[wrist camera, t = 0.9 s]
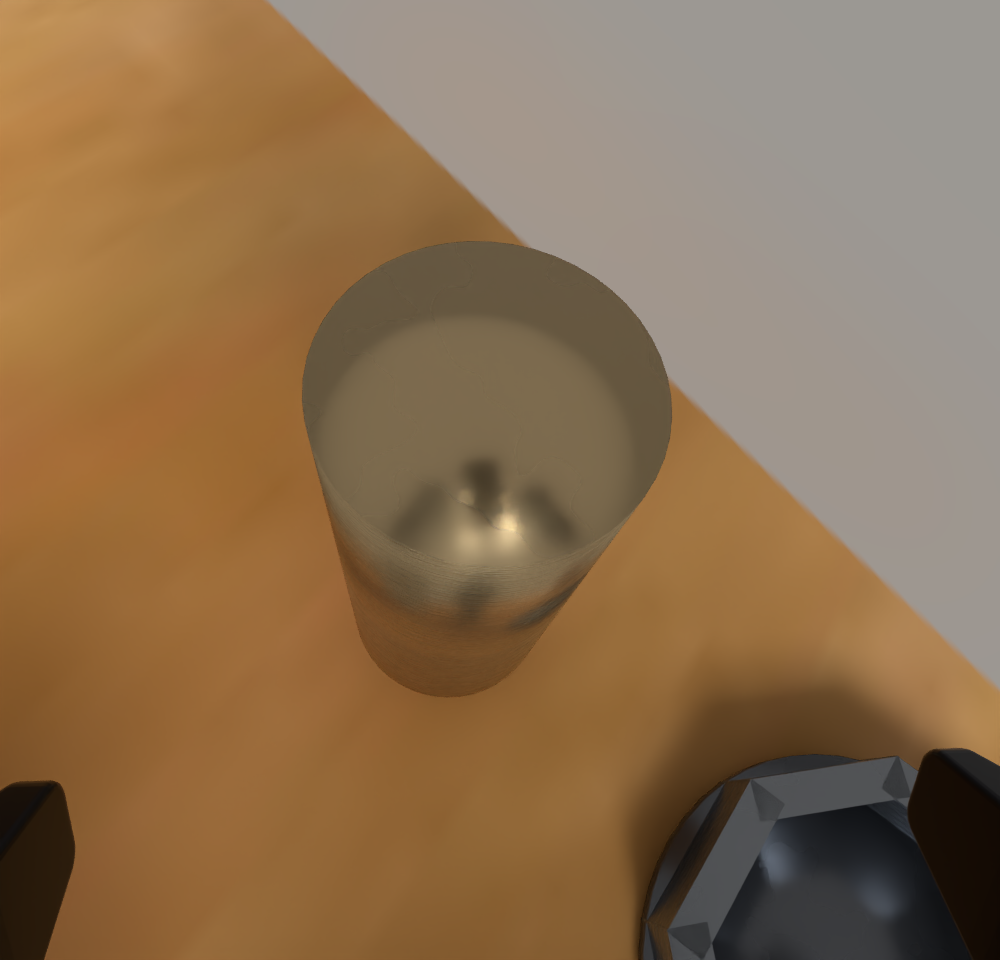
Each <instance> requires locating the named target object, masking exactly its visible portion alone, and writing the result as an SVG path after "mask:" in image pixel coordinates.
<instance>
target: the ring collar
mask: <svg viewBox="0 0 1000 960" xmlns="http://www.w3.org/2000/svg"><path fill="white" fill-rule="evenodd" d="M917 774H918V771H917V770H915V769H914V768H913V767H911V766H910V765H909V764H907V763H906V762H905V761H903V760H902V759H900V758H899V756H890V757H882V758H874V759H866V760H855V759H851V758H846V757H841V756H832V755H818V754H812V755H799V756H789V757H782V758H778V759H774V760H769V761H765V762H761V763H758V764H756V765H753V766H751V767H748V768H746V769H743V770H741V771H739V772H737V773H735V774H734V775H732V776H730V777H729V778H727V779H725V780H724V781H722V782H719V783H718V784H717V785H716V786H715V787H714V788H713V789H711V790H710V791H709V792H708V793H707V794H705V795H704V796H703V797H702V798H700V800H699V801H698V802H697V803H696V804H695V805H694V806H693V807H692V808H691V810H690V811H689V812H688V813H687V814H686V815H685V816H684V817H683V819H682V820H681V822H680V823H679V825H678V826H677V828H676V829H675V831H674V832H673V834H672V835H671V837H670V838H669V840H668V842H667V844H666V846H665V848H664V850H663V852H662V854H661V856H660V858H659V860H658V862H657V865H656V868H655V871H654V874H653V877H652V879H651V882H650V885H649V888H648V892H647V896H646V901H645V906H644V910H643V915H642V918H641V931H640V941H639V960H972V958H971V956H970V954H969V952H968V950H967V948H966V946H965V944H964V941H963V939H962V937H961V935H960V933H959V931H958V929H957V927H956V924H955V922H954V920H953V918H952V916H951V914H950V912H949V910H948V908H947V905H946V903H945V901H944V899H943V897H942V895H941V893H940V891H939V888H938V886H937V884H936V882H935V880H934V878H933V876H932V874H931V871H930V869H929V867H928V865H927V863H926V861H925V859H924V857H923V855H922V852H921V850H920V848H919V846H918V844H917V842H916V840H915V838H914V835H913V833H912V831H911V828H910V825H909V822H908V816H907V806H908V801H909V798H910V795H911V792H912V789H913V786H914V783H915V780H916V777H917Z"/></svg>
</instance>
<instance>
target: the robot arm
mask: <svg viewBox="0 0 1000 960" xmlns="http://www.w3.org/2000/svg"><path fill="white" fill-rule="evenodd" d="M907 816H908V822H909V825H910V828H911V831H912V833H913V835H914V838H915V840H916V842H917V844H918V846H919V848H920V850H921V852H922V855H923V857H924V859H925V861H926V863H927V865H928V867H929V869H930V871H931V874H932V876H933V878H934V880H935V882H936V884H937V886H938V888H939V891H940V893H941V895H942V897H943V899H944V901H945V903H946V905H947V908H948V910H949V912H950V914H951V916H952V918H953V920H954V922H955V924H956V927H957V929H958V931H959V933H960V935H961V937H962V939H963V941H964V944H965V946H966V948H967V950H968V952H969V954H970V956H971V958H972V960H1000V766H999V765H997V764H995V763H993V762H991V761H989V760H988V759H986V758H984V757H982V756H980V755H979V754H977V753H975V752H973V751H971V750H968V749H963V748H951V749H933V750H930V751H929V752H928V753H927V754H926V755H925V756H924V757H923V759H922V762H921V765H920V768H919V771H918V774H917V777H916V780H915V783H914V786H913V789H912V792H911V795H910V798H909V801H908V806H907ZM74 858H75V841H74V836H73V831H72V826H71V821H70V817H69V812H68V807H67V802H66V797H65V793H64V790H63V788H62V786H61V785H60V784H59V783H58V782H55V781H51V780H50V781H23V782H16V783H12V784H10V785H8V786H6V787H5V788H3V789H2V790H1V791H0V960H44V958H45V955H46V952H47V949H48V945H49V942H50V939H51V936H52V933H53V929H54V926H55V923H56V920H57V917H58V914H59V910H60V907H61V904H62V901H63V898H64V894H65V891H66V888H67V885H68V882H69V879H70V875H71V872H72V869H73V864H74Z"/></svg>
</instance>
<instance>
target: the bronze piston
mask: <svg viewBox="0 0 1000 960" xmlns="http://www.w3.org/2000/svg"><path fill="white" fill-rule="evenodd" d="M302 404H303V412H304V420H305V425H306V429H307V433H308V437H309V441H310V445H311V448H312V452H313V456H314V460H315V464H316V468H317V472H318V476H319V479H320V483H321V487H322V491H323V495H324V499H325V503H326V507H327V510H328V514H329V518H330V522H331V526H332V530H333V534H334V538H335V541H336V545H337V549H338V553H339V557H340V561H341V565H342V569H343V572H344V576H345V580H346V584H347V588H348V592H349V596H350V600H351V603H352V607H353V611H354V615H355V619H356V623H357V626H358V630H359V634H360V637H361V639H362V641H363V644H364V646H365V648H366V650H367V651H368V653H369V655H370V656H371V658H372V659H373V660H374V662H375V663H376V664H377V665H378V666H379V668H380V669H381V670H382V671H384V672H385V673H386V674H387V675H388V676H389V677H390V678H392V679H393V680H395V681H396V682H398V683H399V684H401V685H403V686H405V687H407V688H409V689H411V690H413V691H416V692H419V693H422V694H426V695H431V696H437V697H460V696H465V695H470V694H474V693H477V692H480V691H483V690H485V689H487V688H489V687H491V686H493V685H495V684H497V683H498V682H500V681H501V680H503V679H504V678H506V677H507V676H508V675H509V674H510V673H511V672H513V671H514V670H515V669H516V668H517V666H518V665H519V664H520V663H521V662H522V660H523V659H524V658H525V657H526V655H527V654H528V653H529V651H530V650H531V649H532V647H533V646H534V644H535V643H536V642H537V640H538V639H539V638H540V636H541V635H542V634H543V632H544V631H545V630H546V628H547V627H548V626H549V624H550V623H551V622H552V620H553V619H554V618H555V616H556V615H557V614H558V612H559V611H560V610H561V608H562V607H563V606H564V604H565V603H566V602H567V600H568V599H569V598H570V596H571V595H572V593H573V592H574V591H575V589H576V588H577V587H578V585H579V584H580V583H581V581H582V580H583V579H584V577H585V576H586V575H587V573H588V572H589V571H590V569H591V568H592V567H593V565H594V564H595V563H596V561H597V560H598V559H599V557H600V556H601V555H602V553H603V552H604V551H605V549H606V548H607V547H608V545H609V544H610V543H611V541H612V540H613V538H614V537H615V536H616V534H617V533H618V532H619V530H620V529H621V528H622V526H623V525H624V524H625V522H626V521H627V520H628V518H629V517H630V516H631V514H632V513H633V512H634V510H635V509H636V508H637V506H638V505H639V504H640V502H641V501H642V500H643V498H644V497H645V495H646V494H647V492H648V490H649V489H650V487H651V486H652V484H653V482H654V481H655V479H656V477H657V475H658V473H659V470H660V468H661V466H662V463H663V461H664V459H665V455H666V451H667V447H668V443H669V439H670V432H671V422H672V406H671V393H670V388H669V383H668V377H667V374H666V371H665V368H664V365H663V362H662V359H661V356H660V354H659V352H658V350H657V348H656V346H655V344H654V342H653V340H652V338H651V336H650V335H649V333H648V332H647V330H646V329H645V327H644V326H643V324H642V322H641V321H640V320H639V318H638V317H637V316H636V315H635V314H634V313H633V311H632V310H631V309H630V308H629V307H628V306H627V304H626V303H625V302H623V300H621V299H620V298H619V297H618V296H617V295H616V294H615V293H614V292H613V291H612V290H611V289H610V288H608V287H607V286H606V285H604V284H603V283H602V282H600V281H599V280H598V279H596V278H595V277H593V276H592V275H590V274H589V273H587V272H585V271H583V270H582V269H580V268H578V267H577V266H575V265H573V264H571V263H569V262H566V261H564V260H562V259H560V258H558V257H555V256H553V255H550V254H547V253H544V252H541V251H538V250H535V249H531V248H527V247H522V246H518V245H513V244H506V243H498V242H480V241H467V242H456V243H446V244H441V245H436V246H431V247H426V248H423V249H419V250H416V251H413V252H410V253H407V254H404V255H402V256H400V257H397V258H395V259H393V260H391V261H389V262H386V263H384V264H383V265H381V266H380V267H378V268H376V269H375V270H373V271H371V272H370V273H368V274H367V275H365V276H364V277H363V278H362V279H360V280H359V281H358V282H356V283H355V284H354V285H353V286H351V287H350V288H349V289H348V290H347V291H346V292H345V293H344V295H343V296H342V297H341V298H340V299H339V300H338V301H337V302H336V303H335V304H334V306H333V307H332V308H331V310H330V311H329V313H328V314H327V315H326V317H325V318H324V320H323V321H322V323H321V325H320V327H319V329H318V331H317V333H316V335H315V337H314V339H313V342H312V344H311V347H310V350H309V353H308V356H307V359H306V365H305V370H304V376H303V390H302Z"/></svg>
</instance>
